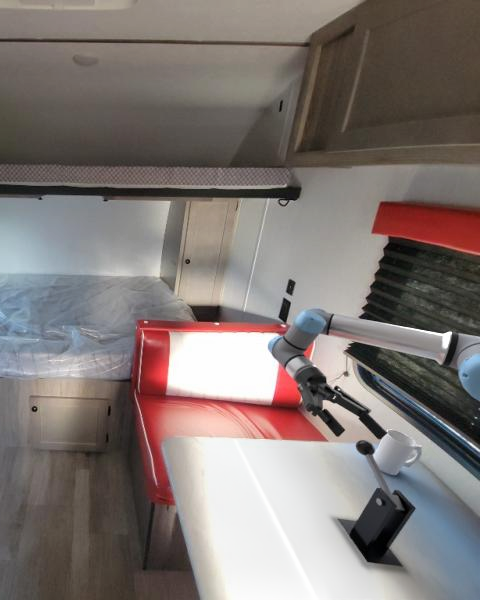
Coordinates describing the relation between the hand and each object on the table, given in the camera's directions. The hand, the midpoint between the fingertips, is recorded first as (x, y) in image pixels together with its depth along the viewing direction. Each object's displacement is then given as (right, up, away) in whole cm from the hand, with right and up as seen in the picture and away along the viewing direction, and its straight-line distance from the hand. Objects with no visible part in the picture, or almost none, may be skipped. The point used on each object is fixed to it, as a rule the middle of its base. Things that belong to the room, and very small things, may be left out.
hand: (362, 435), depth 85 cm
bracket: (-4, -24, -6) cm, 25 cm away
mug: (+23, -18, +17) cm, 33 cm away
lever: (-3, -7, -6) cm, 10 cm away
